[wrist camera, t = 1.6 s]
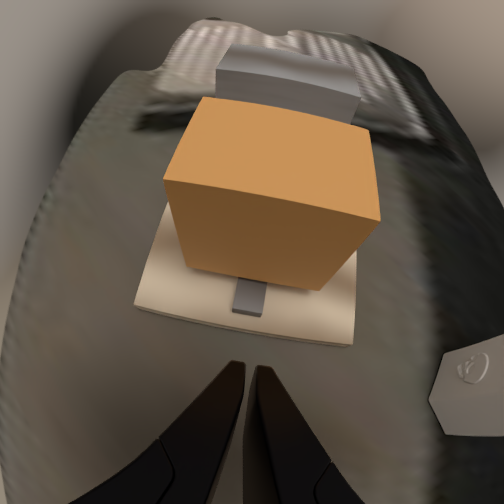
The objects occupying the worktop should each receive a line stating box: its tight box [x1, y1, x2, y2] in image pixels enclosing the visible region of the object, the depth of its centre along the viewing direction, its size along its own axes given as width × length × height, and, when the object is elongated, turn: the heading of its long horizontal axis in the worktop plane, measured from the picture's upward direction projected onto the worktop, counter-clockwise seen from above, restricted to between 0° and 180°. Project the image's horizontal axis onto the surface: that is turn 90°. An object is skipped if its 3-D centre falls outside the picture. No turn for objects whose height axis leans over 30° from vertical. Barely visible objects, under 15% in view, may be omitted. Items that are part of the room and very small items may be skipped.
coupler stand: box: [134, 44, 361, 347], centre depth 22 cm, size 24×16×9 cm, turn 170°
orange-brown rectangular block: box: [163, 97, 380, 291], centre depth 16 cm, size 6×9×9 cm, turn 80°
